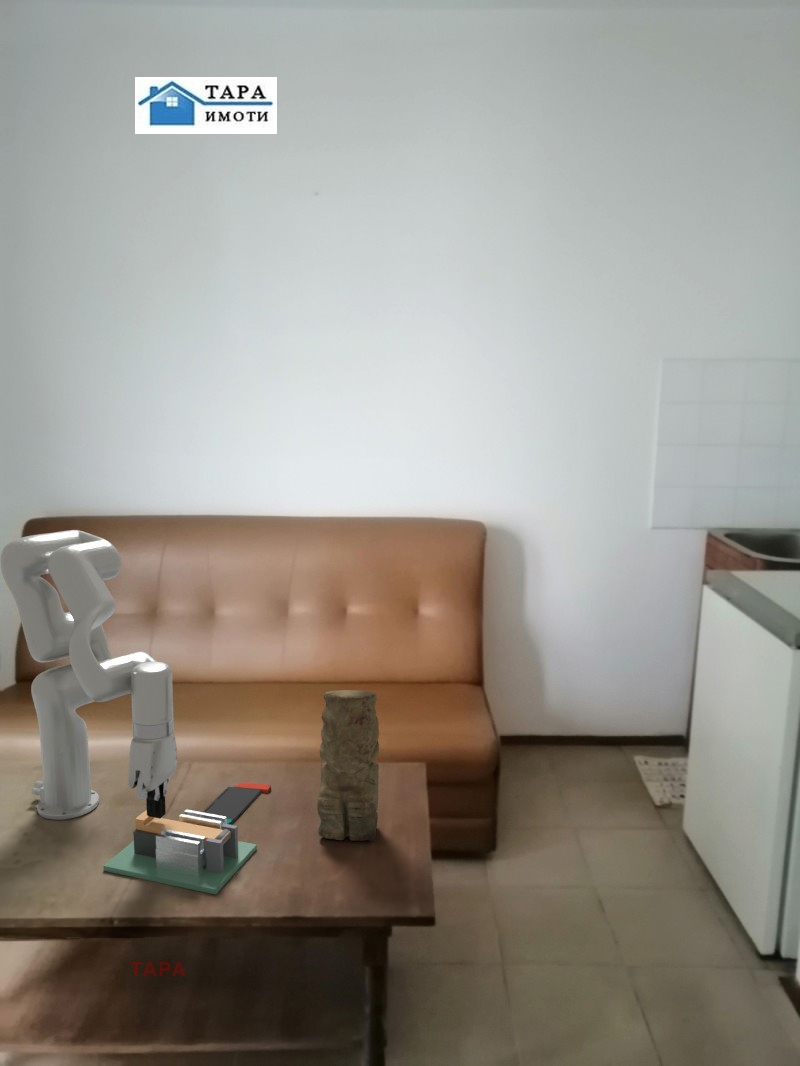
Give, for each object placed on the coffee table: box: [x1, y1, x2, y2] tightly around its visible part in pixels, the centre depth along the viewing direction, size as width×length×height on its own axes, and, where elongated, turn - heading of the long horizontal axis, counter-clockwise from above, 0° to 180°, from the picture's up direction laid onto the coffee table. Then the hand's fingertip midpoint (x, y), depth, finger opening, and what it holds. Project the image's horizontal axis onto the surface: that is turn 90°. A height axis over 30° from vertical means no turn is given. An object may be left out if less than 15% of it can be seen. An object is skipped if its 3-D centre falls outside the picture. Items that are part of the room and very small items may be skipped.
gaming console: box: [202, 782, 272, 825], centre depth 186 cm, size 19×1×10 cm
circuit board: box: [103, 824, 258, 895], centre depth 164 cm, size 24×16×7 cm, turn 72°
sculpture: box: [316, 689, 380, 842], centre depth 172 cm, size 12×9×30 cm
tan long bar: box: [134, 809, 231, 844], centre depth 163 cm, size 19×4×2 cm, turn 72°
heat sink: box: [156, 808, 227, 877], centre depth 163 cm, size 9×11×6 cm
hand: (156, 815), depth 165 cm, fingers closed
